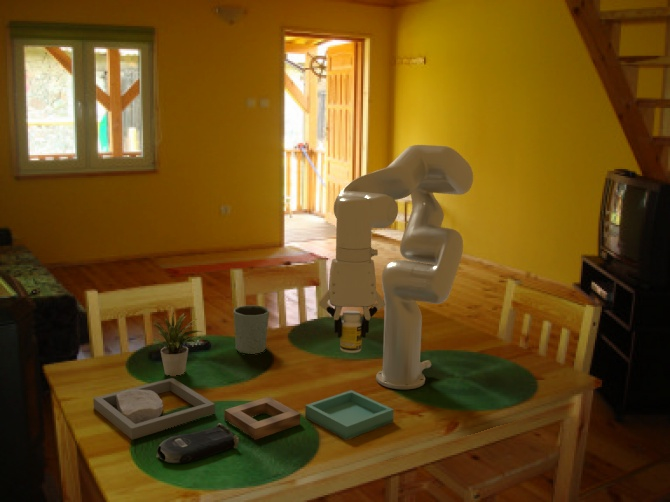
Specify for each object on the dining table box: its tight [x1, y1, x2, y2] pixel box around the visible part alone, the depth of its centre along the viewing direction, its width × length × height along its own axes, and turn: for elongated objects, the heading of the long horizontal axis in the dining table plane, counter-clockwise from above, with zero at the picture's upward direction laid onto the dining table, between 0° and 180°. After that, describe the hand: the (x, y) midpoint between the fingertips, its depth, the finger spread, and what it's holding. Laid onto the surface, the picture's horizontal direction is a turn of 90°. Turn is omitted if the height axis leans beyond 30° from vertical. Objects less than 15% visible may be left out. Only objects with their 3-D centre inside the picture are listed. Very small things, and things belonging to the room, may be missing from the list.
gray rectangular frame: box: [92, 377, 216, 440], centre depth 159 cm, size 20×20×2 cm
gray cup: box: [233, 304, 270, 355], centre depth 200 cm, size 10×10×12 cm
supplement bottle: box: [339, 310, 363, 354], centre depth 153 cm, size 5×5×8 cm
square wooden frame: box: [224, 396, 301, 441], centre depth 155 cm, size 12×12×2 cm
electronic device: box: [156, 422, 240, 464], centre depth 142 cm, size 9×6×15 cm
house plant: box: [145, 311, 204, 377], centre depth 180 cm, size 14×14×16 cm
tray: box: [304, 389, 394, 441], centre depth 157 cm, size 14×14×3 cm
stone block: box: [115, 389, 164, 424], centre depth 158 cm, size 12×5×10 cm
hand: (351, 334), depth 153 cm, fingers closed on supplement bottle, 4 cm apart
